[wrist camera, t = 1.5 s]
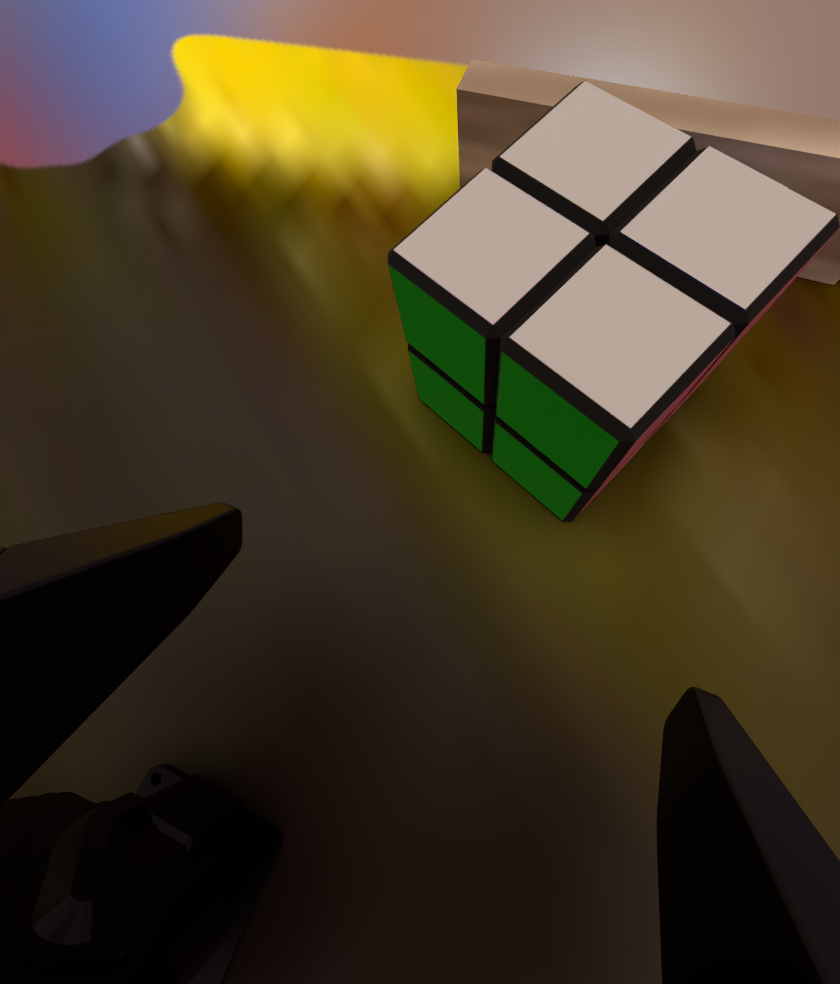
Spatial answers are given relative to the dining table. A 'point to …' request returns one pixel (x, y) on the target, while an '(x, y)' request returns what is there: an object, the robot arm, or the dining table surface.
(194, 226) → the dining table surface
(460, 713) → the dining table surface
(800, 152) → the birch board
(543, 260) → the puzzle cube
